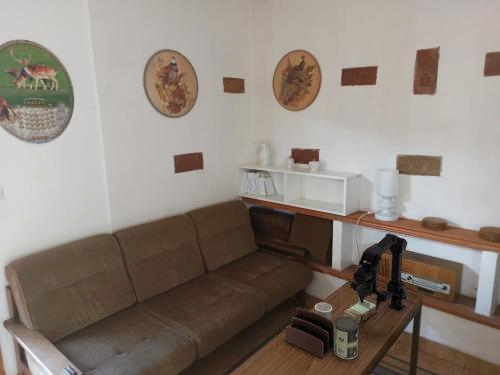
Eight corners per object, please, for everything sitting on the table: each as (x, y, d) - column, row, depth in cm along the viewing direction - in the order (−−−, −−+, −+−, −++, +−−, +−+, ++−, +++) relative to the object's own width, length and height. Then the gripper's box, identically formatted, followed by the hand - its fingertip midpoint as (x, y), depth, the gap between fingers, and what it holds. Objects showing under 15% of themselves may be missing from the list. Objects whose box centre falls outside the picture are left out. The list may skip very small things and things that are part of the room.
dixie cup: (314, 320, 181) (314, 302, 178) (331, 320, 179) (331, 302, 177) (314, 329, 172) (314, 311, 170) (332, 331, 171) (332, 312, 169)
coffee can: (356, 345, 160) (357, 317, 157) (358, 360, 151) (359, 331, 148) (333, 343, 162) (333, 315, 159) (333, 358, 153) (334, 328, 150)
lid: (363, 301, 191) (363, 294, 190) (376, 306, 185) (376, 299, 184) (349, 309, 183) (349, 302, 182) (362, 315, 177) (362, 308, 176)
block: (348, 316, 183) (348, 308, 182) (360, 322, 178) (360, 314, 177) (343, 319, 180) (343, 311, 179) (355, 325, 175) (355, 317, 174)
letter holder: (297, 330, 172) (296, 304, 169) (334, 347, 160) (334, 319, 157) (285, 341, 165) (284, 313, 162) (323, 359, 152) (323, 330, 149)
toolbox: (361, 306, 192) (361, 298, 191) (377, 313, 185) (377, 305, 184) (348, 314, 184) (348, 307, 184) (363, 322, 177) (364, 314, 177)
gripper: (343, 274, 168) (342, 304, 171) (379, 289, 154) (377, 321, 157) (357, 267, 175) (356, 296, 178) (393, 280, 161) (391, 312, 164)
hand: (369, 306), depth 169 cm, fingers open, 8 cm apart
